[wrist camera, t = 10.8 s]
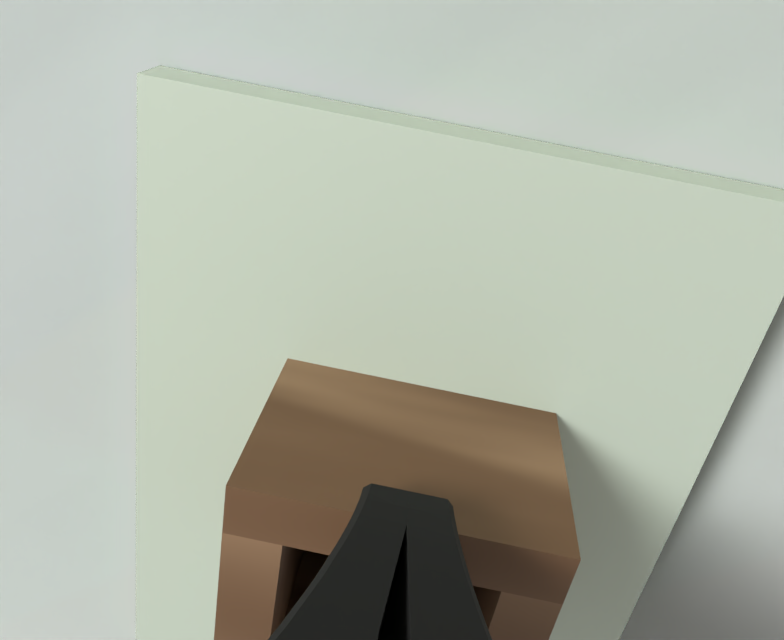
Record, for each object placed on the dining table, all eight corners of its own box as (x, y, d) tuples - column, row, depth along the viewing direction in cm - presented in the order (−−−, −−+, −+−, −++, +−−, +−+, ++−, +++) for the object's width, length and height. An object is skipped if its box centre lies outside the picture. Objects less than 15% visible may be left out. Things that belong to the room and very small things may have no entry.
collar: (492, 602, 17) (495, 770, 14) (264, 554, 17) (208, 709, 14) (556, 413, 14) (580, 559, 11) (287, 358, 15) (225, 485, 11)
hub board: (557, 725, 20) (579, 943, 16) (150, 637, 21) (57, 827, 16) (801, 193, 13) (971, 319, 8) (159, 65, 13) (-7, 121, 9)
